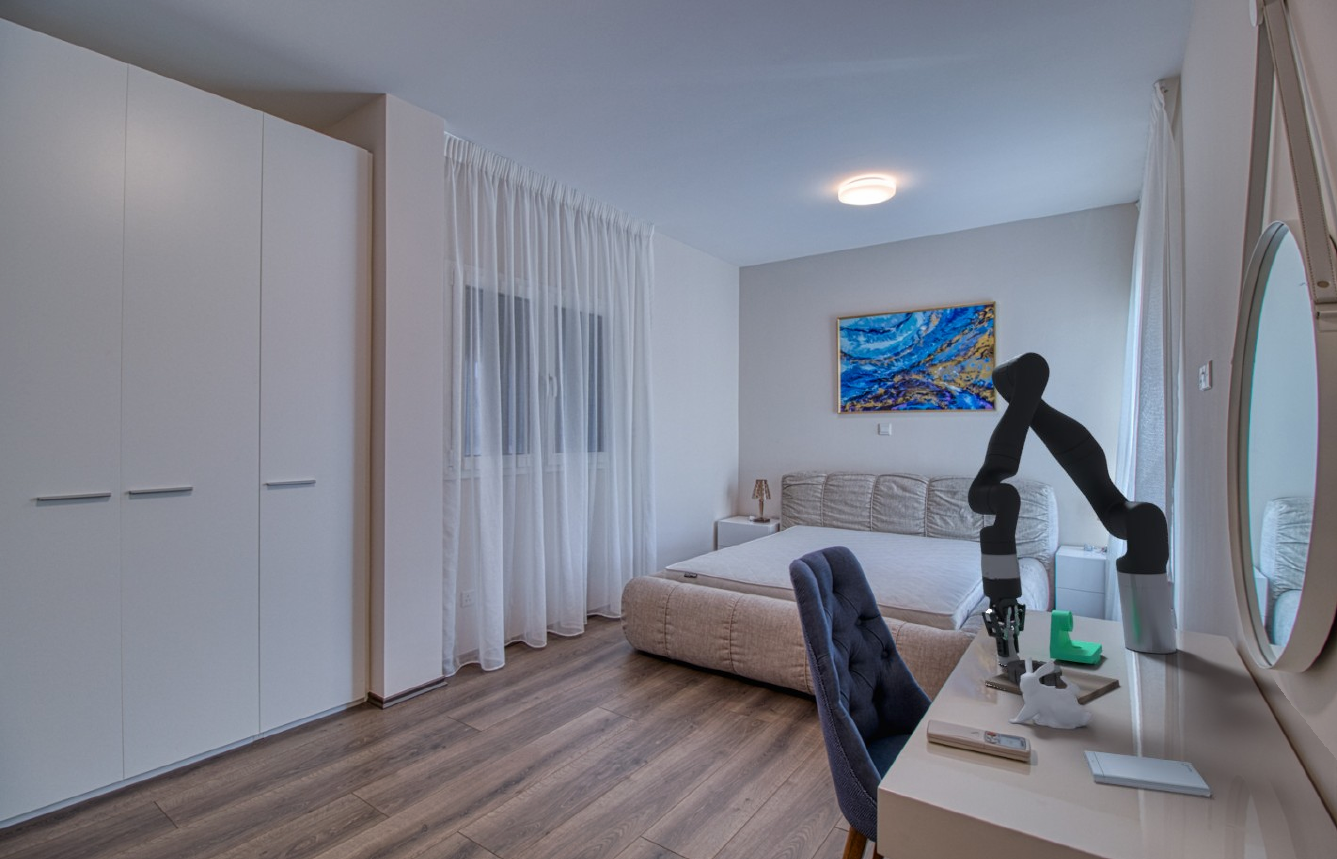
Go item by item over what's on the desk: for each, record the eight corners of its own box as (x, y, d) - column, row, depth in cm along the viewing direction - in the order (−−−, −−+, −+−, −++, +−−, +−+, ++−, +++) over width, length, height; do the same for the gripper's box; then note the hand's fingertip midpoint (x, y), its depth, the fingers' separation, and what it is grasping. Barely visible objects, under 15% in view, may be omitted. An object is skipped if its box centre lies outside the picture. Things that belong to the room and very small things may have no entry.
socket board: (1033, 666, 133) (1031, 650, 133) (1119, 684, 119) (1117, 666, 120) (985, 685, 123) (984, 667, 123) (1073, 707, 110) (1071, 686, 110)
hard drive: (1189, 761, 86) (1083, 747, 92) (1210, 788, 79) (1093, 772, 84) (1191, 773, 86) (1084, 759, 91) (1212, 801, 79) (1094, 784, 84)
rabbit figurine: (1008, 723, 105) (1003, 663, 105) (1009, 708, 111) (1004, 652, 112) (1094, 734, 99) (1088, 672, 100) (1089, 718, 105) (1084, 659, 106)
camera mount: (1092, 669, 130) (1087, 618, 131) (1050, 663, 135) (1045, 614, 136) (1103, 655, 139) (1098, 608, 140) (1064, 650, 144) (1059, 605, 145)
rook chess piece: (1019, 662, 136) (1015, 624, 137) (1023, 668, 132) (1019, 629, 133) (996, 661, 138) (992, 624, 139) (999, 667, 134) (996, 629, 134)
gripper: (1001, 569, 144) (1009, 645, 142) (966, 576, 136) (973, 657, 135) (1035, 571, 137) (1043, 651, 136) (999, 580, 130) (1007, 664, 128)
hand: (1008, 654), depth 135 cm, fingers closed on rook chess piece, 3 cm apart
